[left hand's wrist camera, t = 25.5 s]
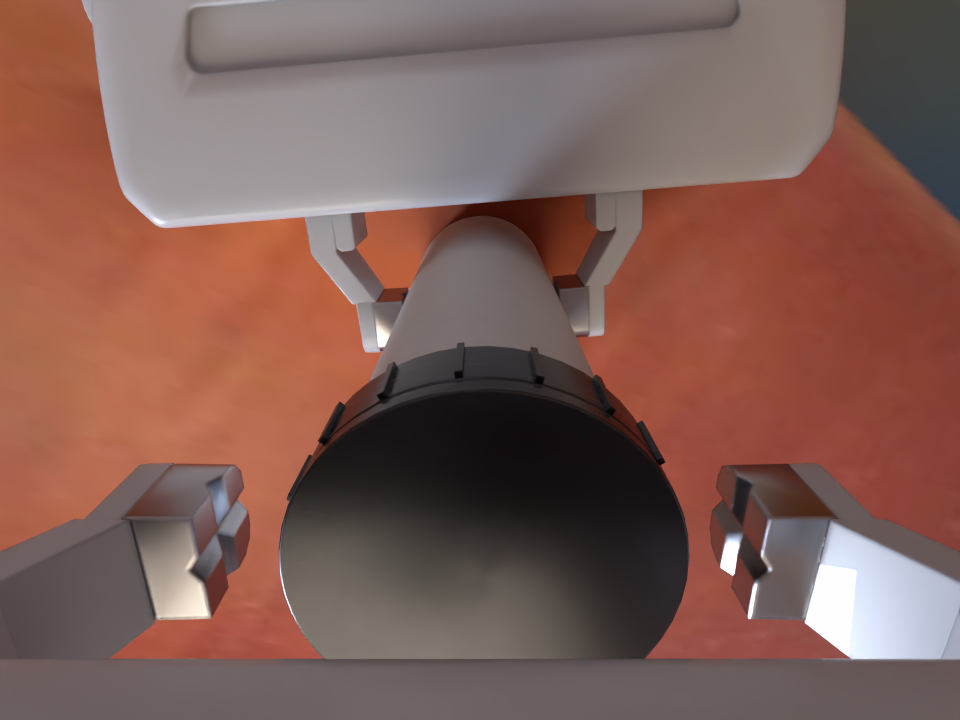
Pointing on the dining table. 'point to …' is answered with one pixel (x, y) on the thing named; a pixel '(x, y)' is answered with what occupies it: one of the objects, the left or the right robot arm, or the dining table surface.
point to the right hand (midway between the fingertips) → (485, 339)
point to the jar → (482, 298)
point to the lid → (483, 517)
